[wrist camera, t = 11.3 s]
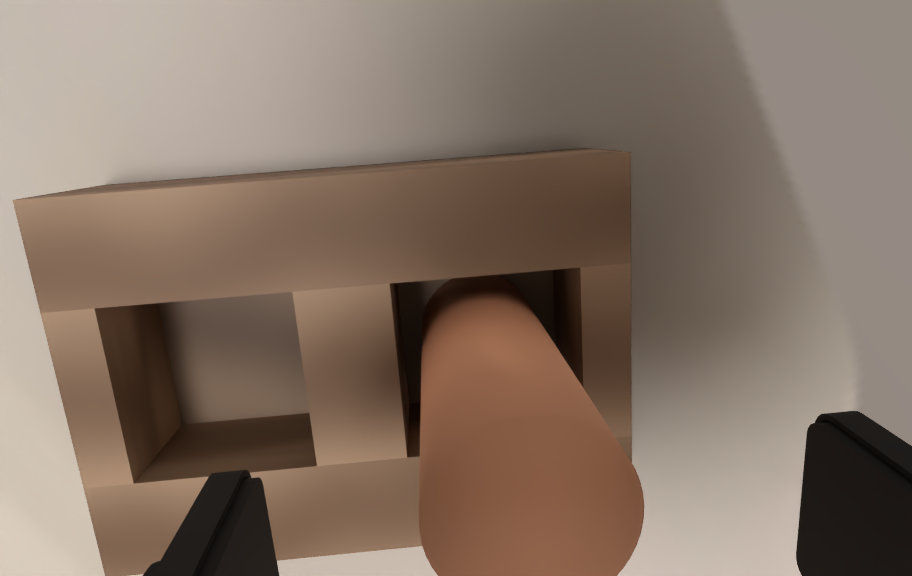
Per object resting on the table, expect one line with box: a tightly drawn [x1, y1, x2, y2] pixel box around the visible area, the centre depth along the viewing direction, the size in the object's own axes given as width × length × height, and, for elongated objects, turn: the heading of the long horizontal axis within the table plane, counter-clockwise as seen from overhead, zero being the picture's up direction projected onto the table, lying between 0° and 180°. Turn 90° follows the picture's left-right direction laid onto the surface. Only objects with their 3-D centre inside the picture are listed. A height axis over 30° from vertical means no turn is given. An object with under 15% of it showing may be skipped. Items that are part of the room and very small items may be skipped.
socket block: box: [13, 148, 632, 576], centre depth 21 cm, size 12×17×5 cm
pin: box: [419, 275, 644, 576], centre depth 17 cm, size 4×4×12 cm
